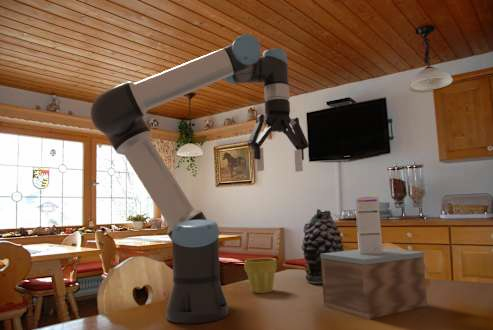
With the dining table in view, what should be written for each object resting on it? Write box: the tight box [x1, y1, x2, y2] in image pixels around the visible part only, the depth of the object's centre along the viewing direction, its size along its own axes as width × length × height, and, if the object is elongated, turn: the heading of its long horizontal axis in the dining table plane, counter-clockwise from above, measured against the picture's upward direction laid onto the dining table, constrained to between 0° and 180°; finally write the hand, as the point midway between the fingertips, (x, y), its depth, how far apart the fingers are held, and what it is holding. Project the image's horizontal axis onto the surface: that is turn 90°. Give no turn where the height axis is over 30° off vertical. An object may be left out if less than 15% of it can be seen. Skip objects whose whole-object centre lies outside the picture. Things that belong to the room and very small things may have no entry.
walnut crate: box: [321, 257, 428, 320], centre depth 104 cm, size 20×16×12 cm
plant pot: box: [243, 257, 278, 294], centre depth 129 cm, size 10×10×10 cm
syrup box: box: [354, 196, 384, 254], centre depth 106 cm, size 6×6×14 cm
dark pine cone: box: [301, 208, 346, 284], centre depth 144 cm, size 21×15×25 cm
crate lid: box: [320, 247, 426, 265], centre depth 105 cm, size 20×16×1 cm
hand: (280, 171), depth 120 cm, fingers open, 13 cm apart
